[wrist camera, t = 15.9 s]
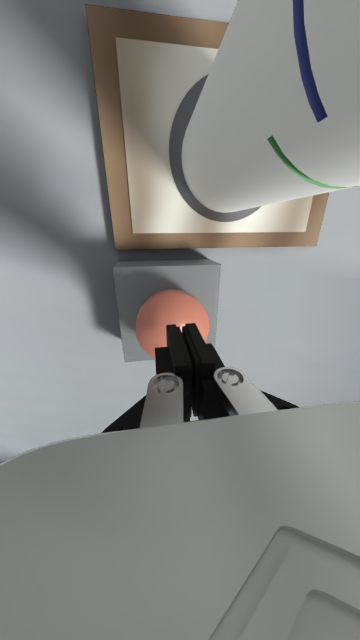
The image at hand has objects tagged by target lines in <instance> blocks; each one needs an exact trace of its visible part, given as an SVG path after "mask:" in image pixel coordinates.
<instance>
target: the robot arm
mask: <svg viewBox="0 0 360 640" xmlns="http://www.w3.org/2000/svg"><path fill="white" fill-rule="evenodd" d="M166 337H167V347H157V348H155V360H156V376H154V377H153V378H152V379H151V380H150V382H149V384H148V389H147V394H146V396H145V397H143V398H142V399H141V400H140V401H138V402H137V403H136V404H135V405H134V406H132V407H131V408H130V409H129V410H128V411H126V412H125V413H124V414H123V415H122V416H120V417H119V418H118V419H117V420H115V421H114V422H113V423H112V424H111V425H109V426H108V427H107V428H106V429H105V430H104V431H103V432H102V433H101V434H95V435H89V436H83V437H77V438H71V439H66V440H62V441H58V442H53V443H49V444H46V445H43V446H40V447H37V448H34V449H31V450H28V451H26V452H24V453H22V454H19V455H17V456H15V457H12V458H10V459H8V460H6V461H4V462H2V463H0V640H360V401H354V402H342V403H333V404H324V405H316V406H308V407H298V406H296V405H294V404H291V403H289V402H287V401H284V400H282V399H280V398H277V397H275V396H272V395H270V394H268V393H265V392H263V391H260V390H259V389H258V388H257V387H256V385H255V384H254V383H253V382H252V381H251V380H250V379H249V378H248V377H247V376H246V375H245V374H244V373H243V372H242V371H241V370H239V369H236V368H233V367H225V366H224V364H223V363H222V361H221V359H220V357H219V356H218V354H217V352H216V350H215V348H214V347H213V345H212V344H211V343H207V344H206V343H205V341H204V339H203V337H202V335H201V333H200V331H199V330H198V328H197V326H196V324H195V323H187V324H185V326H182V332H181V329H180V326H178V327H176V324H171V325H166ZM191 408H192V410H193V414H194V417H196V416H198V419H199V420H197V421H190V417H191Z"/></svg>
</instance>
